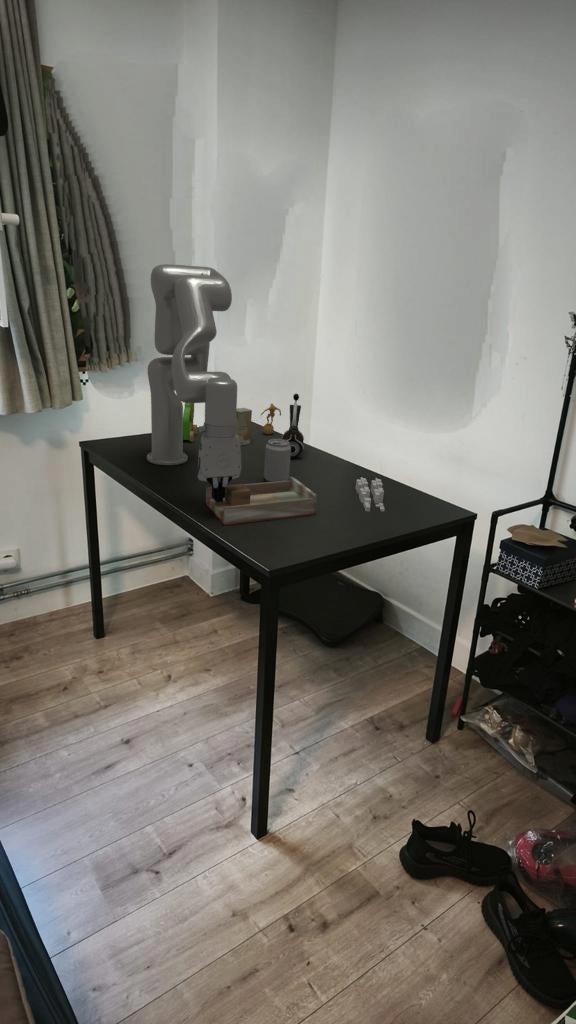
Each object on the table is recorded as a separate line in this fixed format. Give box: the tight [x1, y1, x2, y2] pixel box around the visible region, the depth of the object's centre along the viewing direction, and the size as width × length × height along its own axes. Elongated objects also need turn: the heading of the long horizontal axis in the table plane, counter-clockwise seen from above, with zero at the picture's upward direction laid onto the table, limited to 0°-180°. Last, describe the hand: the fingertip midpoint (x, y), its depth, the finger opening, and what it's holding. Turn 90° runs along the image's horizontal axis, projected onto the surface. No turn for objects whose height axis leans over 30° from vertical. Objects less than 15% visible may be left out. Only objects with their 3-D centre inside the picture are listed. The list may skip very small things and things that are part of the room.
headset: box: [281, 393, 305, 459], centre depth 210 cm, size 17×8×20 cm, turn 178°
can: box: [263, 438, 291, 482], centre depth 186 cm, size 8×8×12 cm
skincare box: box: [236, 407, 253, 447], centre depth 218 cm, size 6×4×12 cm
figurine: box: [260, 403, 282, 435], centre depth 232 cm, size 8×6×12 cm
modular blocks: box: [355, 476, 385, 513], centre depth 176 cm, size 20×7×4 cm, turn 2°
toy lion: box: [183, 403, 198, 443], centre depth 222 cm, size 16×5×15 cm, turn 1°
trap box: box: [205, 476, 318, 526], centre depth 165 cm, size 15×25×6 cm, turn 115°
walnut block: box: [225, 483, 251, 506], centre depth 161 cm, size 5×5×4 cm
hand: (218, 500), depth 160 cm, fingers closed
